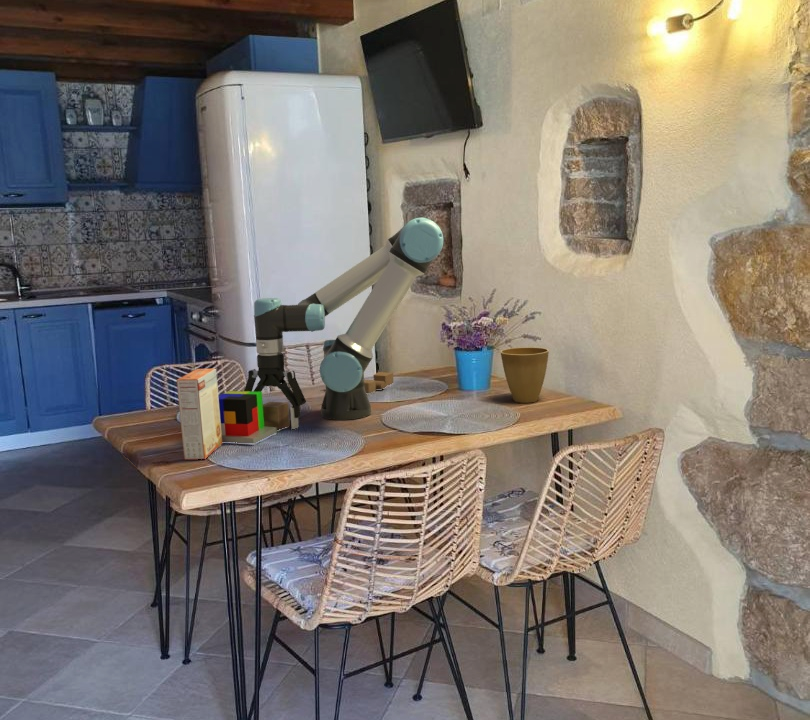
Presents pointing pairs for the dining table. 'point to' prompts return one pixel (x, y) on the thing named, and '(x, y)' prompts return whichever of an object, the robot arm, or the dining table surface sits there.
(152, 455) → the dining table surface
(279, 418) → the walnut block
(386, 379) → the wooden block set
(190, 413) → the cracker box
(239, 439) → the slate tile
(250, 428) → the puzzle toy
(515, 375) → the plant pot
